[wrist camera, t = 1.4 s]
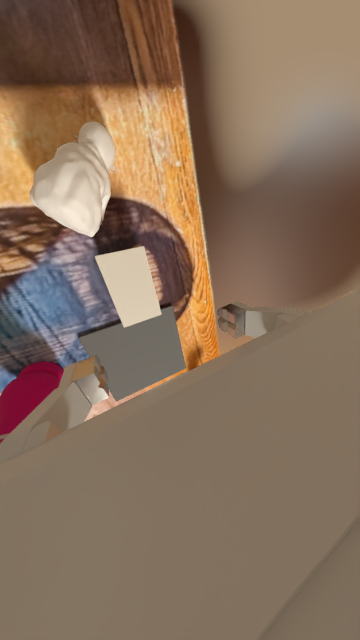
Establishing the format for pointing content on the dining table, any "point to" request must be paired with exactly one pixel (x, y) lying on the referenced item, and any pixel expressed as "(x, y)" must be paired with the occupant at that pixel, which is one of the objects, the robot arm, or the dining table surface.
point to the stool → (130, 284)
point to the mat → (137, 352)
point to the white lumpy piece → (77, 180)
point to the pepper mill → (27, 394)
